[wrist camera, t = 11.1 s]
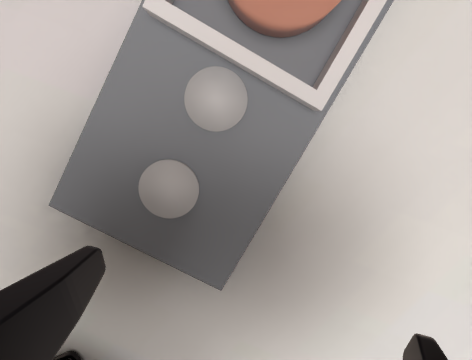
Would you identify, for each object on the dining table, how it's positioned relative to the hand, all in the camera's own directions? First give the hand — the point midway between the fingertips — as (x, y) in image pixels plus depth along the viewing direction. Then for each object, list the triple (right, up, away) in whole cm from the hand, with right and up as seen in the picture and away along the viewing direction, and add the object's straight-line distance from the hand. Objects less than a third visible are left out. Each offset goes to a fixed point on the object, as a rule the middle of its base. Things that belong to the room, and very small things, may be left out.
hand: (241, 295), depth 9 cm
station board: (-1, +9, +11) cm, 14 cm away
